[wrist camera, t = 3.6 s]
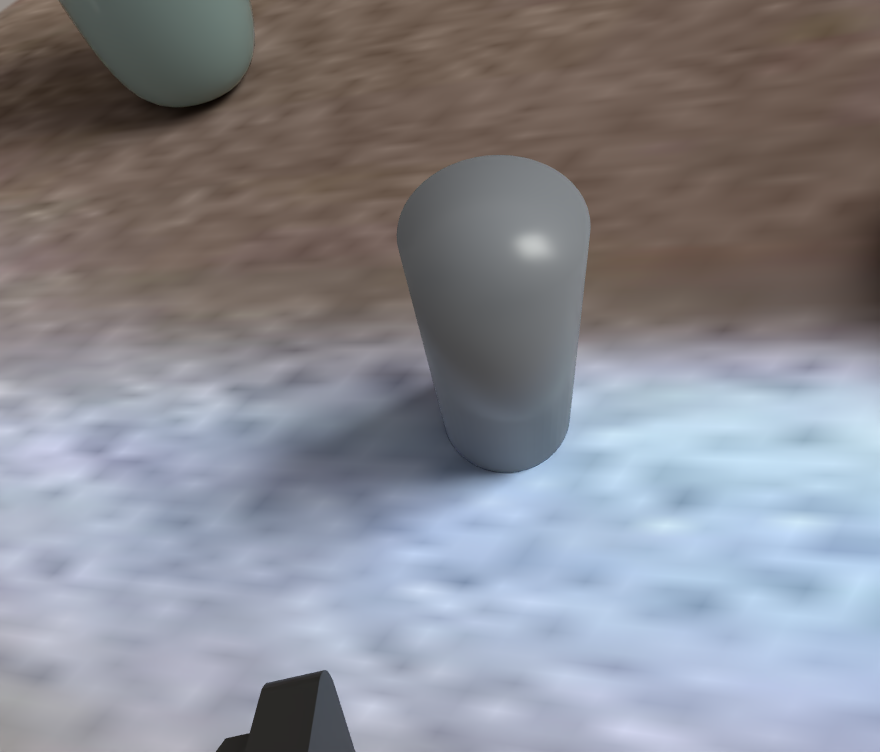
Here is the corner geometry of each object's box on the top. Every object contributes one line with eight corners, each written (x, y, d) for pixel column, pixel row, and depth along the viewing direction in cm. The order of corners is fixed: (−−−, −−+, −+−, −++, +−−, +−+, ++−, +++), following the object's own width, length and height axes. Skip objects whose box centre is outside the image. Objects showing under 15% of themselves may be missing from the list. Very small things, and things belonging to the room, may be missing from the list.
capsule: (421, 439, 25) (361, 266, 16) (479, 341, 27) (453, 135, 18) (536, 494, 24) (538, 335, 15) (590, 386, 25) (621, 186, 16)
